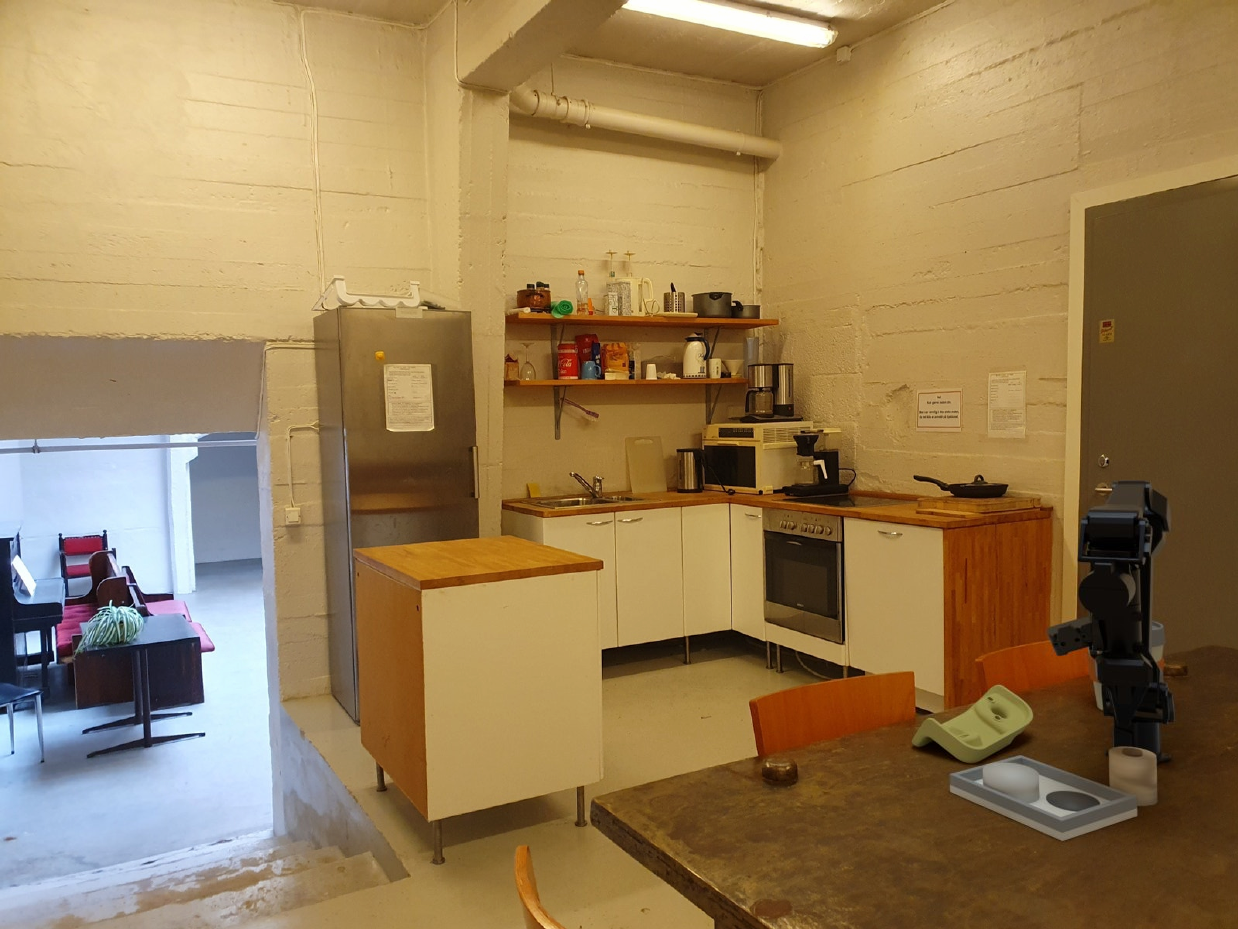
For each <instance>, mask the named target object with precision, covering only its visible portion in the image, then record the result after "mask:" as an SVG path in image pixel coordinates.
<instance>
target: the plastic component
mask: <svg viewBox="0 0 1238 929" xmlns="http://www.w3.org/2000/svg"><path fill="white" fill-rule="evenodd" d="M1033 718H1034V713H1033V710H1032V708H1031V707H1030V705H1029V704H1028V703H1027V702H1026V701H1024V699H1022V698H1021V697H1020V696H1019V695H1017V694H1016V693H1014V692H1012V691H1011V690H1009V688H1006V686H1004V685H1001V684H996V685H994V686H992V687H990V689H988V690H987V692H985V693H984V694H983V696H982V697H980V699H978V700H977V701H976V702H975V703H974V704H973V705H972V706H971V707H969V708H968V709H967V710H966V711H965V712H963V713H961V714H959V715H957V716H955V717H953V718H952V719H949V720H948V721H945V722H944V723H940V722H939V721H937V720H936V719H935V718H934V717H933V718H932V717H929V718H926V719H925V720H923V722H922V723H921V725H920V727H919V728H918V730H917V731H916V733H915V734H914V736H913V738H912V740H911V744H913V745H914V746H915V747H917V748H922V747H924V746H927V745H928V744H930V743H931V742H935V743H937V744H939V746H941V747H942V748H943V749H944V750H946V751H947V752H948V753H950V754H951V755H952V756H953V757H954V758H956V759H958V760H959V761H960V762H963V763H967V764H976V763H979V762H981V761H982V760H984V759H986V758H988V757H989V756H992V755H993V754H995V753H997V752H998V751H1000V750H1002V749H1004V748H1006V747H1008V746H1010V745H1011V743H1012V742H1013V740H1014V739H1015V738H1016V736H1018V735H1020V734H1021V733H1022V732H1024V730H1026V729H1027V727H1028V726H1029V724H1030V723H1031V722H1032V720H1033Z"/></svg>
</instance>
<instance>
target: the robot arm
mask: <svg viewBox="0 0 1238 929" xmlns="http://www.w3.org/2000/svg"><path fill="white" fill-rule="evenodd" d="M1085 515H1086V516H1082V517H1081V521H1080V527H1079V528H1080V530H1079V539H1078V550H1077V563H1085V564H1086V563H1088V564H1089V566H1090V569H1089V573H1088V574H1087V575H1086V576H1084V578H1083V579H1082V581H1081V582H1080V584H1079V587H1078V589H1077V590H1078V592H1077V594H1078V600H1079V601H1080V603H1081V605H1082V607H1084V609H1085V610H1086V611H1087V612H1088V616H1085V617H1081V618H1076V619H1072V620H1069V621H1066V622H1062V623H1058V624H1055V625H1052V626H1050V627H1048V628H1047V629H1046V632H1047V636H1048V639H1049V640H1050V644H1051V645H1052V648H1053V650H1054V652H1055V656H1057V657H1062V656H1067V655H1068V654H1069V653H1071V652H1072V653H1073V652H1075V651H1078V650H1082V649H1086V648H1087V650H1088V649H1089V652H1090V655H1091V657H1092V658H1093V659H1094V660H1095V670H1096V676H1097V680H1098V682H1099V683H1100V684H1102V685H1101V693H1102V704H1103V710H1102V713H1103V717H1107V718H1108V717H1111V718H1113V729H1112V735H1113V736H1112V737H1113V740H1112V741H1113V742H1112V743H1113V745H1112V746H1113V748H1114V747H1135V748H1141V749H1145V750H1148V751H1150V752H1152V753H1154V754H1155V755H1156V762H1157V764H1159V763H1162V762H1166V761H1169V760H1171V759H1172V755H1171V754H1168V753H1165V752H1162V730H1161V728H1162V727H1161V725H1166V726H1167V725H1168V724H1169V723H1174V722H1175V720H1176V718H1175V716H1176V715H1175V704H1174V695H1173V693H1172V691H1171V690H1170V689H1169V686H1168V683H1167V682H1164V672H1163V673H1162V671H1161V669H1160V668H1159V666H1158V664H1157V663H1156V661H1155V659H1154V658H1153V656H1152V621H1153V604H1154V603H1153V601H1154V597H1153V596H1154V560H1155V559H1156V558H1157V556H1158V555H1159V554H1160V553H1161V551H1162V550H1163V549H1164V547H1165V546H1166V540H1167V533H1170V532H1171V528H1172V527H1171V526H1172V515H1171V507H1170V503H1169V499H1168V497H1166V496H1165V495H1163V494H1161V492H1158V491H1157V490H1155V489H1154V488H1153V486H1152V481H1147V480H1146V479H1119V480H1117V481H1112V485H1111V493H1110V494H1109V495H1108V496H1107V497H1106V502H1105V504H1103V505H1097V506H1096V505H1095V506H1092V507H1091V508H1089V509H1088V510H1087V511H1086V514H1085ZM1109 750H1110V749H1106V750H1104V753H1105V755H1107V756H1109Z"/></svg>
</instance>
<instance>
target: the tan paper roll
mask: <svg viewBox="0 0 1238 929" xmlns="http://www.w3.org/2000/svg"><path fill="white" fill-rule="evenodd" d="M1108 750H1109V755H1108V768H1109V769H1108V772H1109V776H1108V777H1109V787H1111V788H1114V789H1117V790H1119V791H1122V792H1125V793H1128V794H1131V795H1133V796H1136V797H1137V807H1150V806H1154V805H1155V804H1157V803H1158V772H1157V768H1158V767H1157V764H1158V763H1157V762H1156V755H1155V754H1154V753H1152V752H1150V751H1148V750H1145V749H1141V748H1135V747H1114V746H1113V747H1110V749H1108ZM1149 805H1150V806H1149Z"/></svg>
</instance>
